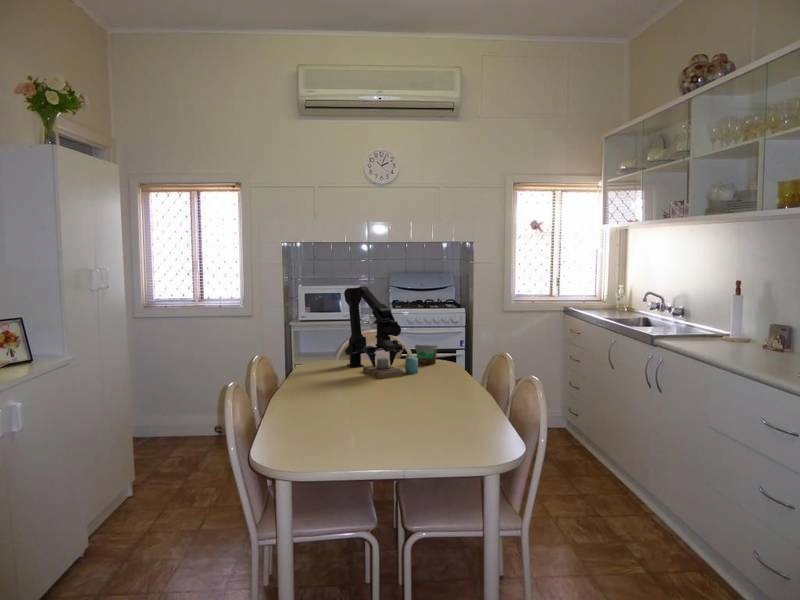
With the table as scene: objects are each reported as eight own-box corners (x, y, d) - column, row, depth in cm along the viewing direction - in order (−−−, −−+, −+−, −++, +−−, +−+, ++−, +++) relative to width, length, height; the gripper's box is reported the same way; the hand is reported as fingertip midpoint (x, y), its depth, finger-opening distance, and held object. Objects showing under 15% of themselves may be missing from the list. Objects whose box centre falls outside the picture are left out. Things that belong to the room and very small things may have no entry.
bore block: (363, 371, 273) (363, 366, 273) (384, 368, 279) (384, 363, 279) (380, 378, 258) (380, 373, 257) (403, 375, 264) (403, 370, 263)
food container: (412, 364, 288) (412, 345, 288) (415, 362, 294) (415, 343, 293) (435, 366, 285) (435, 346, 284) (438, 363, 291) (438, 344, 290)
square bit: (377, 373, 269) (377, 358, 268) (384, 372, 271) (384, 358, 270) (381, 374, 266) (380, 360, 265) (388, 373, 268) (388, 359, 267)
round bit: (402, 372, 271) (402, 357, 271) (413, 370, 275) (413, 356, 274) (409, 374, 266) (409, 359, 266) (420, 372, 270) (420, 358, 269)
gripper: (372, 337, 255) (373, 371, 256) (408, 334, 264) (408, 367, 266) (362, 334, 265) (362, 367, 266) (396, 331, 274) (396, 363, 275)
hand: (382, 366), depth 268 cm, fingers open, 9 cm apart
